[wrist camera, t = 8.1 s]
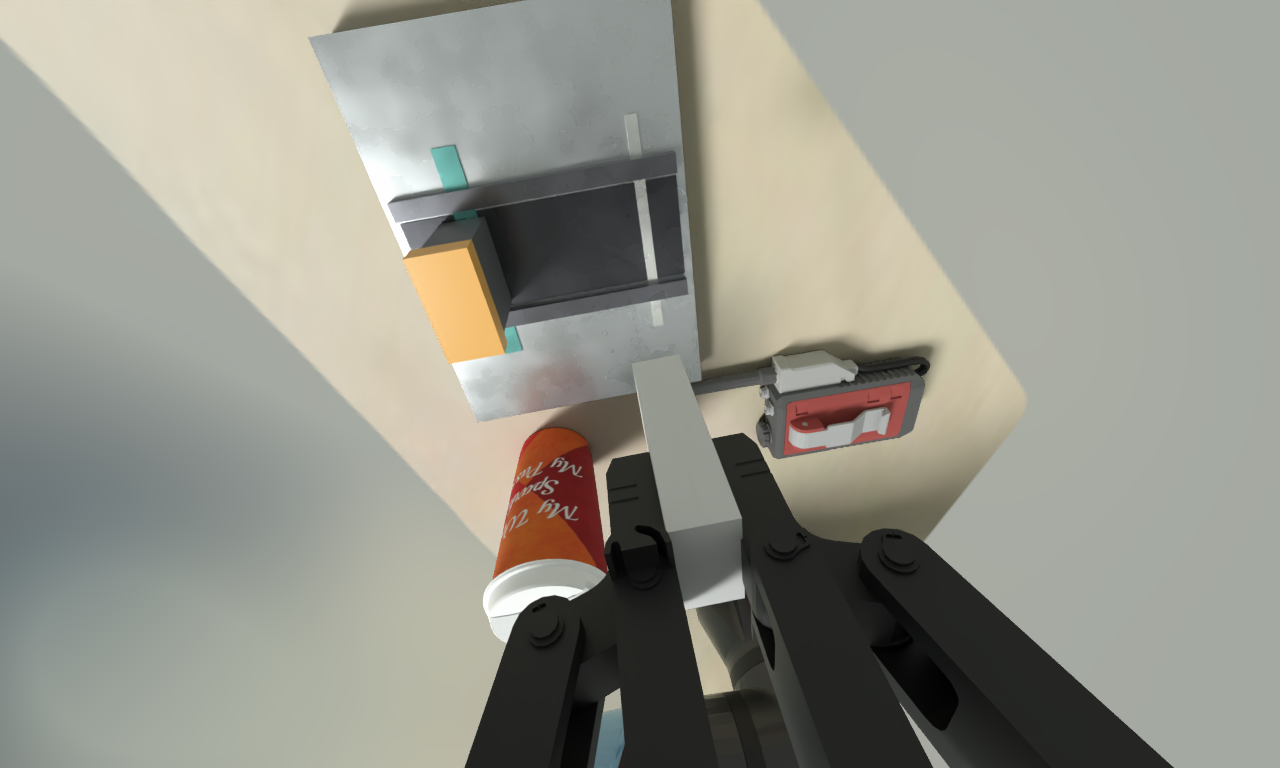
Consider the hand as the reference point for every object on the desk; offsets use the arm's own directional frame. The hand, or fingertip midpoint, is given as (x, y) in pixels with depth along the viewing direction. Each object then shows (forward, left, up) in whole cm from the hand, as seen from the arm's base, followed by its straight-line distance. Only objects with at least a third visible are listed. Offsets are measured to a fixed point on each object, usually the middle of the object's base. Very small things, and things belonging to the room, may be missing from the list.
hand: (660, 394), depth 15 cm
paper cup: (-16, +8, -17) cm, 25 cm away
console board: (+1, +4, -17) cm, 17 cm away
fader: (+1, +8, -15) cm, 17 cm away
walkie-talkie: (-15, -12, -17) cm, 26 cm away
